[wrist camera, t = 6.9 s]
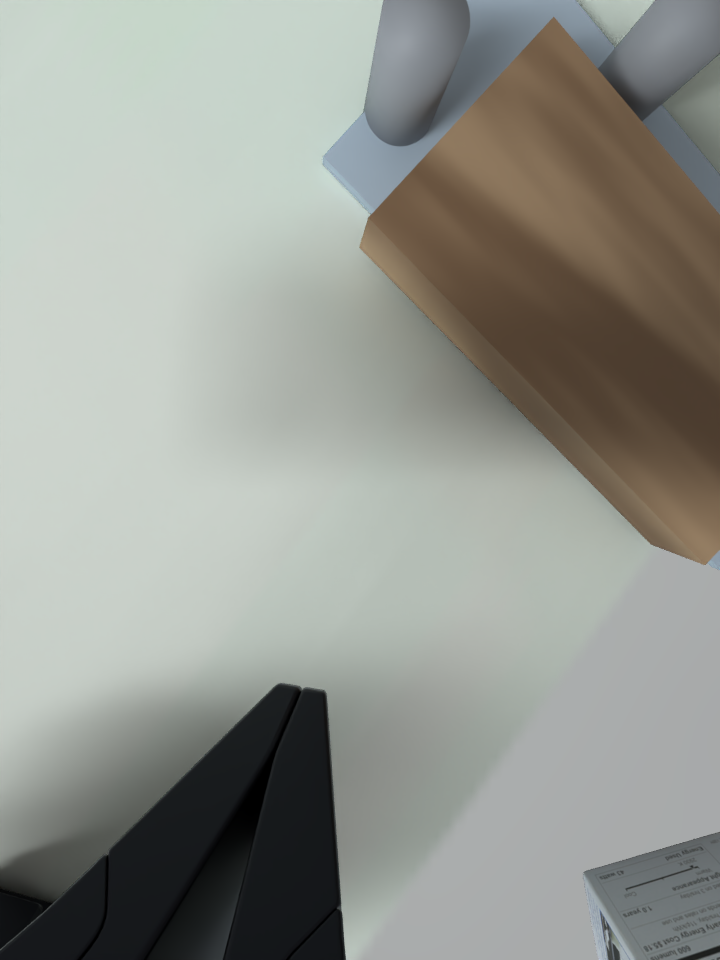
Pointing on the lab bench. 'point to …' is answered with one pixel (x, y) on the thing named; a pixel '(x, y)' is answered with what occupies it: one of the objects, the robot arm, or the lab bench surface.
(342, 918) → the robot arm
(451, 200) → the shelf board
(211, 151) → the lab bench surface
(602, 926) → the light bulb box
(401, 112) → the peg plate
